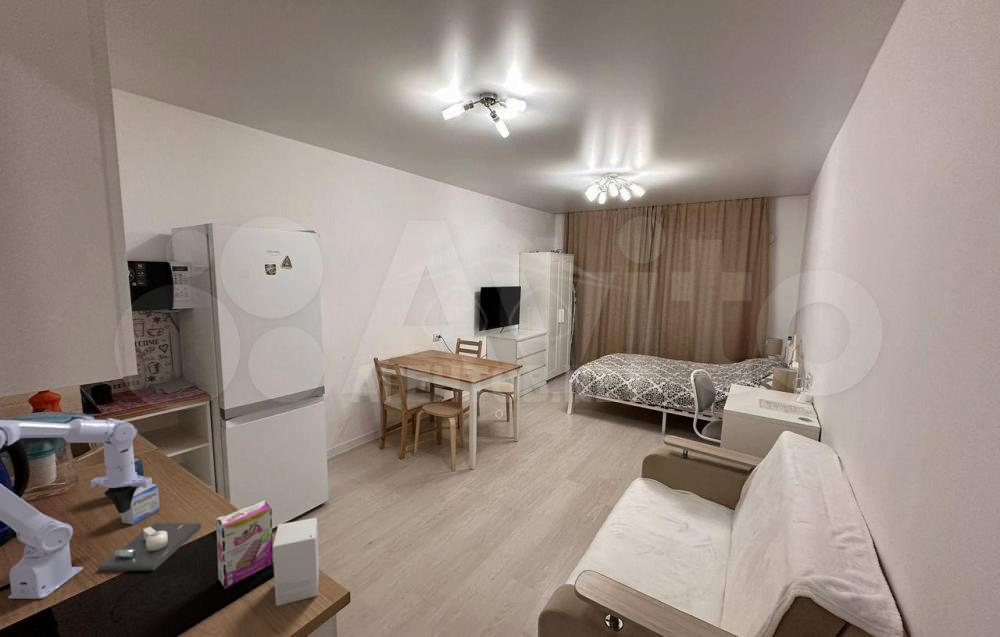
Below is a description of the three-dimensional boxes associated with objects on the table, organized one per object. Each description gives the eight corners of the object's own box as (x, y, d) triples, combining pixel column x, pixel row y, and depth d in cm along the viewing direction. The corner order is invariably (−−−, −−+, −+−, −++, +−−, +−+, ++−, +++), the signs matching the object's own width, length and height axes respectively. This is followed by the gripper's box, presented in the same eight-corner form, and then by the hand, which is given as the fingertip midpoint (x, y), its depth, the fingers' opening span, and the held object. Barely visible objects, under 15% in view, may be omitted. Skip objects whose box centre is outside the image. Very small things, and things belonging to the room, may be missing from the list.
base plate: (153, 570, 103) (152, 558, 102) (100, 570, 102) (99, 558, 102) (200, 528, 120) (200, 517, 119) (155, 527, 119) (154, 517, 119)
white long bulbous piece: (170, 543, 110) (170, 534, 110) (150, 553, 106) (149, 543, 106) (155, 532, 115) (155, 522, 114) (135, 540, 111) (135, 531, 111)
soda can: (139, 498, 134) (137, 463, 132) (113, 501, 131) (109, 466, 130) (148, 487, 140) (146, 454, 139) (123, 490, 138) (120, 457, 136)
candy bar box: (225, 590, 97) (221, 527, 95) (218, 580, 100) (214, 518, 98) (274, 565, 106) (272, 506, 104) (266, 556, 109) (264, 499, 107)
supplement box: (319, 570, 104) (318, 516, 103) (317, 596, 96) (316, 538, 94) (280, 579, 101) (277, 523, 99) (274, 607, 93) (271, 546, 91)
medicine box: (133, 525, 120) (130, 497, 119) (121, 523, 121) (118, 495, 120) (160, 510, 128) (158, 484, 127) (148, 508, 129) (146, 482, 128)
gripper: (159, 457, 114) (162, 502, 116) (106, 456, 114) (110, 502, 115) (138, 469, 107) (142, 517, 109) (81, 469, 107) (86, 517, 108)
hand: (124, 510), depth 111 cm, fingers closed
